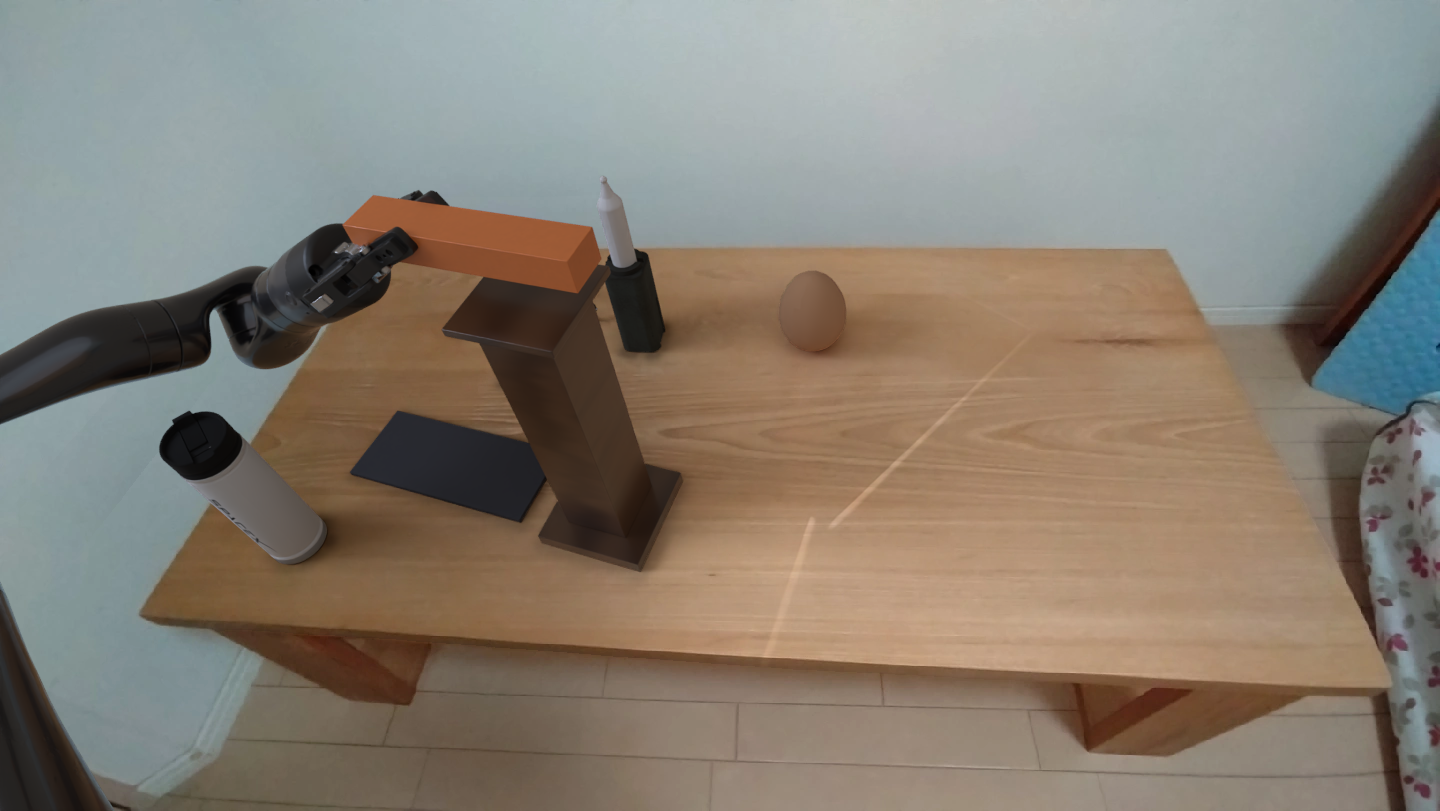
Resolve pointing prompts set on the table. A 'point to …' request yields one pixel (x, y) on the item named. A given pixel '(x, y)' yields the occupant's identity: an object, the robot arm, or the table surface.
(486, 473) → the mat
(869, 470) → the table surface
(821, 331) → the egg
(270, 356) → the robot arm
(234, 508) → the travel mug
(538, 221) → the lever bar
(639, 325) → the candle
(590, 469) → the pedestal
